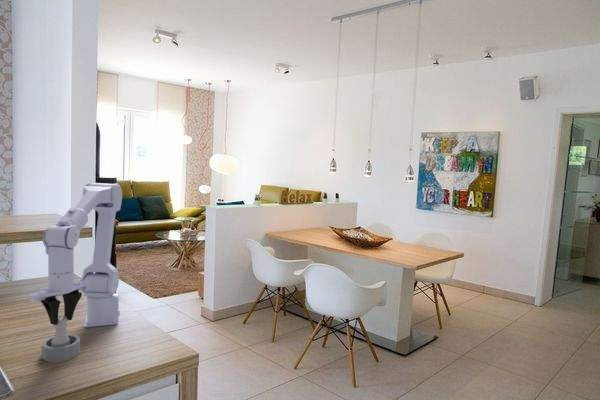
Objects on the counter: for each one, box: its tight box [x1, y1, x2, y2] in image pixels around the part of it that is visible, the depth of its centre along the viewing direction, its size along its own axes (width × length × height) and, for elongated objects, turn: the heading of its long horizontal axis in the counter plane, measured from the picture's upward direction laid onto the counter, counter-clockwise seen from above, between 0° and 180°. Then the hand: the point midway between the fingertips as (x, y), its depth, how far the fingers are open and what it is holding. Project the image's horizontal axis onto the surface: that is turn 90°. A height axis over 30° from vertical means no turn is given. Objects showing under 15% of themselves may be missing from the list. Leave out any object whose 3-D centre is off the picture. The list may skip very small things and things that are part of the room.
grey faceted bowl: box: [41, 333, 81, 363], centre depth 111 cm, size 9×9×4 cm
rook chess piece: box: [51, 315, 70, 347], centre depth 111 cm, size 4×4×8 cm
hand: (61, 321), depth 110 cm, fingers closed on rook chess piece, 3 cm apart
